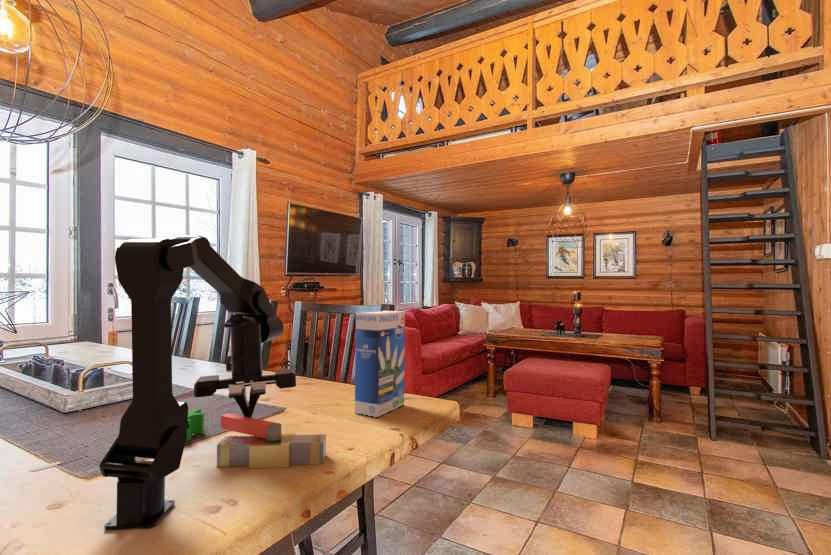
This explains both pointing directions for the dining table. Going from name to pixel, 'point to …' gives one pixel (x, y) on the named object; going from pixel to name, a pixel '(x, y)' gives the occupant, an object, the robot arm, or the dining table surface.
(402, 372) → the string lights box
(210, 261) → the robot arm
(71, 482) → the dining table surface
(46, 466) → the butter knife
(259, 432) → the lever
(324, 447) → the block
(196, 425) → the pipe clamp
